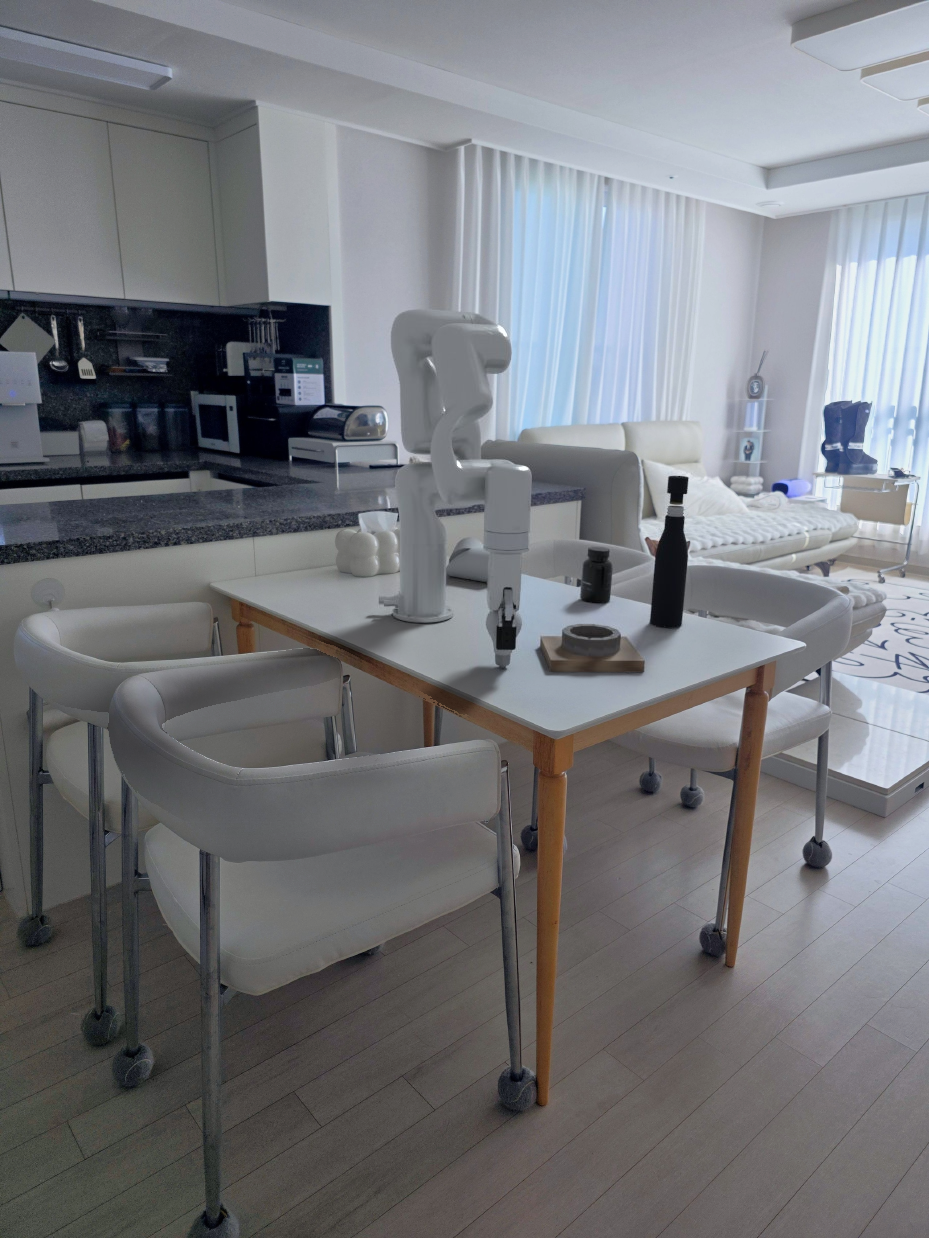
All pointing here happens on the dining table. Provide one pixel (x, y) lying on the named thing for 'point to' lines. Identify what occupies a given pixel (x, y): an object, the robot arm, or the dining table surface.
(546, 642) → the socket base
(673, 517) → the black water bottle
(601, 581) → the supplement bottle
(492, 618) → the lightbulb
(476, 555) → the l-shaped cylinder
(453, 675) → the dining table surface
